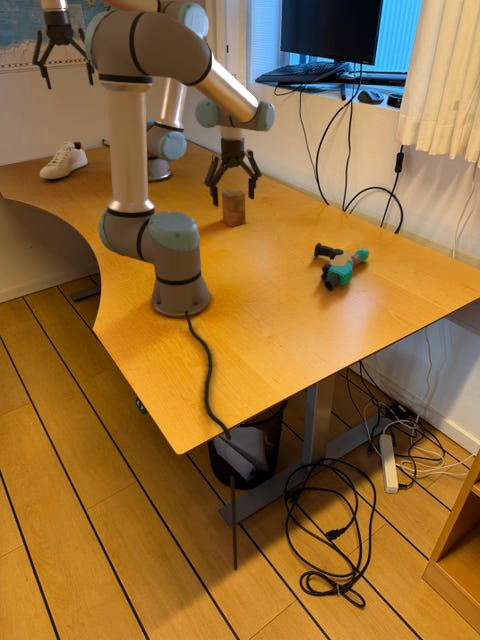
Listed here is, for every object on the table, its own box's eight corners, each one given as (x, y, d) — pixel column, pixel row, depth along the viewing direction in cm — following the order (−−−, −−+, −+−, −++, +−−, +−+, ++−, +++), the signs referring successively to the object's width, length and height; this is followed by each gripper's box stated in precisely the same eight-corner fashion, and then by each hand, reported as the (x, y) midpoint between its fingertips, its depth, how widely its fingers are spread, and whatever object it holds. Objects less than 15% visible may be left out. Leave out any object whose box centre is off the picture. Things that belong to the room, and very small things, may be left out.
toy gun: (291, 271, 128) (345, 285, 123) (324, 234, 147) (372, 245, 141) (290, 285, 131) (343, 299, 125) (322, 247, 150) (369, 258, 144)
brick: (237, 216, 170) (237, 187, 163) (245, 223, 165) (245, 193, 159) (222, 220, 167) (221, 191, 161) (230, 226, 163) (229, 196, 157)
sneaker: (33, 182, 200) (26, 152, 193) (72, 161, 222) (66, 134, 215) (55, 184, 198) (48, 154, 191) (91, 163, 220) (86, 135, 213)
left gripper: (93, 7, 151) (105, 81, 164) (10, 11, 142) (29, 88, 155) (99, 9, 146) (111, 84, 158) (13, 12, 137) (33, 92, 149)
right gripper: (261, 129, 157) (260, 191, 169) (191, 139, 148) (195, 204, 160) (272, 134, 151) (270, 198, 164) (200, 145, 142) (204, 212, 155)
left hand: (71, 86), depth 157 cm, fingers open, 13 cm apart
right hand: (233, 201), depth 162 cm, fingers open, 13 cm apart
